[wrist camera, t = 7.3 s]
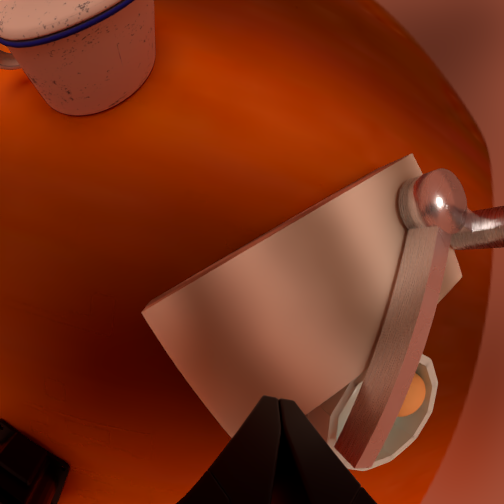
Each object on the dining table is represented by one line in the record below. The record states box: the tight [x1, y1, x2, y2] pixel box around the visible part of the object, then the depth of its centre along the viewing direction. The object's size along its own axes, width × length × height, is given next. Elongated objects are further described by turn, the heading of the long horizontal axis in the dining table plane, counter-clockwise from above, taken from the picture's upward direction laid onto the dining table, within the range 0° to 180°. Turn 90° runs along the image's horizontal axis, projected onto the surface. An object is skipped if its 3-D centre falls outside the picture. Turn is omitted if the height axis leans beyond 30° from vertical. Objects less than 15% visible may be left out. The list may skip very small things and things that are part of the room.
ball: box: [397, 373, 426, 417], centre depth 18 cm, size 4×4×4 cm
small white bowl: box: [306, 354, 438, 471], centre depth 18 cm, size 9×9×4 cm
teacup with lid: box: [0, 0, 156, 115], centre depth 10 cm, size 12×9×12 cm
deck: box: [141, 154, 462, 438], centre depth 17 cm, size 18×9×4 cm, turn 120°
